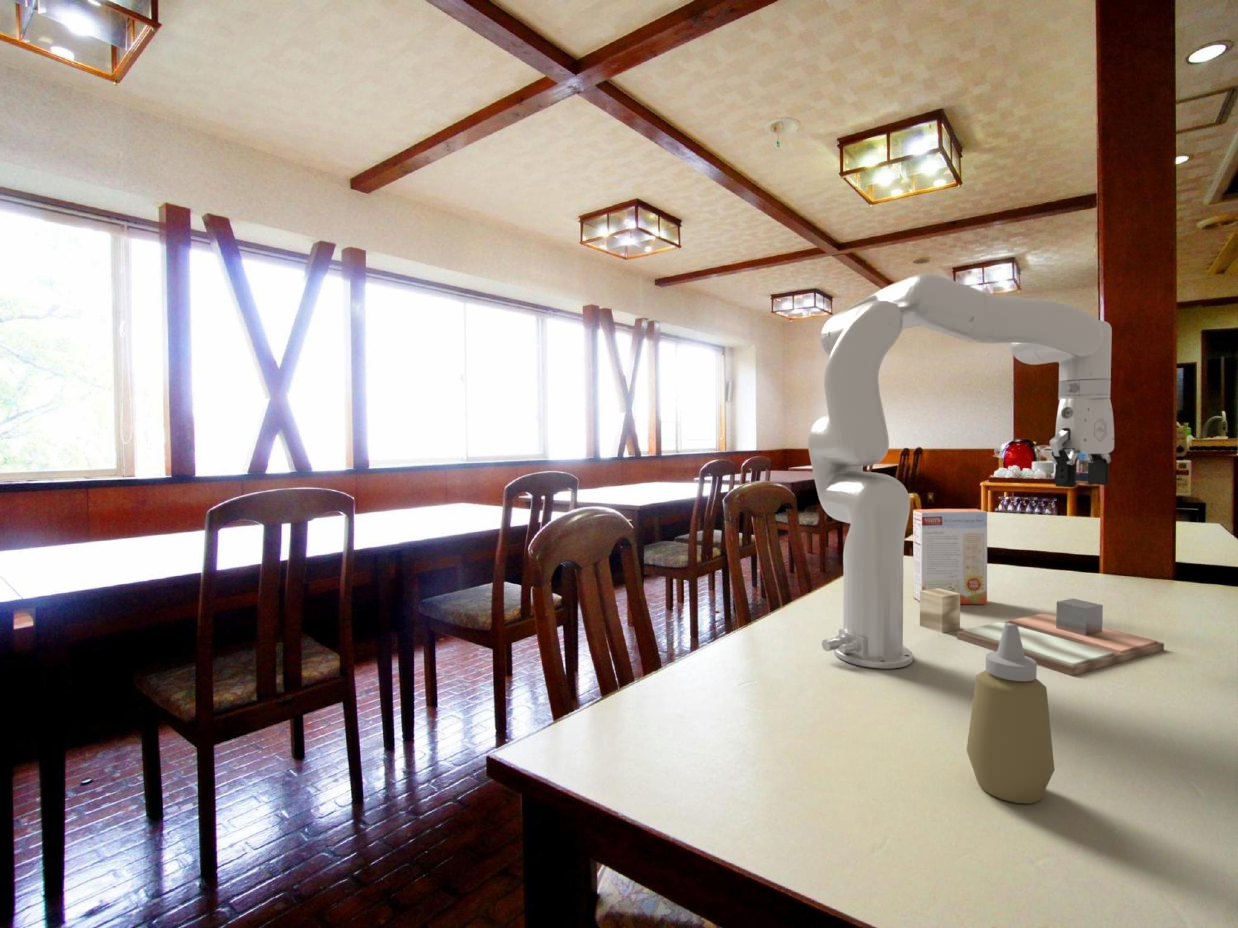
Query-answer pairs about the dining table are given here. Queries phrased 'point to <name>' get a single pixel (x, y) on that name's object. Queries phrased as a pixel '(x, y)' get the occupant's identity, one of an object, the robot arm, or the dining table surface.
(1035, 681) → the squeeze bottle
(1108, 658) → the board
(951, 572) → the cracker box
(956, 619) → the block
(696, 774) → the dining table surface
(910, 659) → the robot arm
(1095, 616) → the metal block
